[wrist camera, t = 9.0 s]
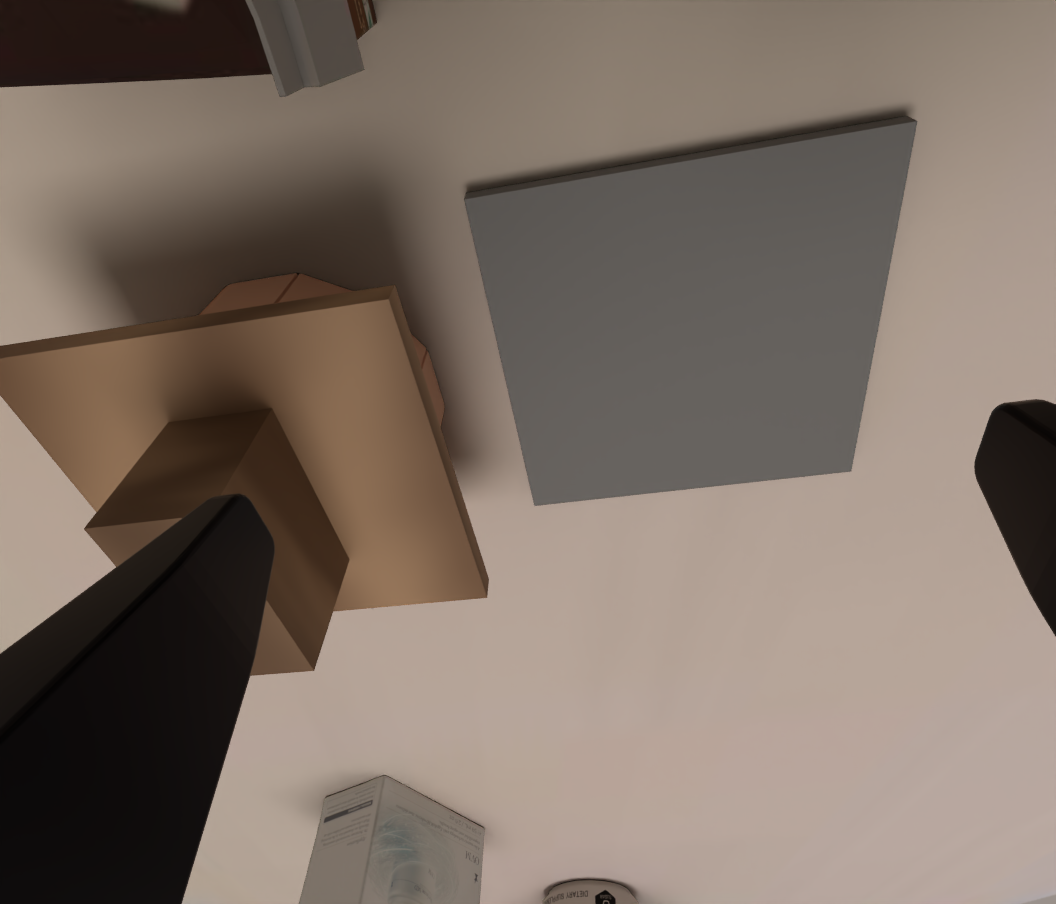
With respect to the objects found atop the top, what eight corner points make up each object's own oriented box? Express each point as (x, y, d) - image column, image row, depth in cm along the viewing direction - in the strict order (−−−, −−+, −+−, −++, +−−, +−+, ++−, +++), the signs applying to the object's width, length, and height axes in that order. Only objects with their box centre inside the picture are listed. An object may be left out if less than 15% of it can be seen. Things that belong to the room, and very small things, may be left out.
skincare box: (489, 826, 47) (477, 1014, 38) (426, 845, 49) (401, 1025, 41) (387, 771, 41) (347, 975, 33) (322, 796, 44) (270, 990, 36)
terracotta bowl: (398, 256, 20) (365, 325, 16) (466, 474, 25) (452, 561, 22) (134, 299, 21) (49, 372, 17) (254, 499, 26) (208, 585, 23)
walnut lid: (394, 284, 15) (345, 395, 12) (488, 579, 22) (476, 708, 18) (-6, 346, 17) (-166, 463, 13) (198, 606, 23) (132, 732, 20)
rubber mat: (907, 115, 17) (917, 121, 16) (845, 461, 24) (850, 471, 24) (466, 193, 18) (464, 199, 18) (534, 495, 26) (534, 505, 25)
